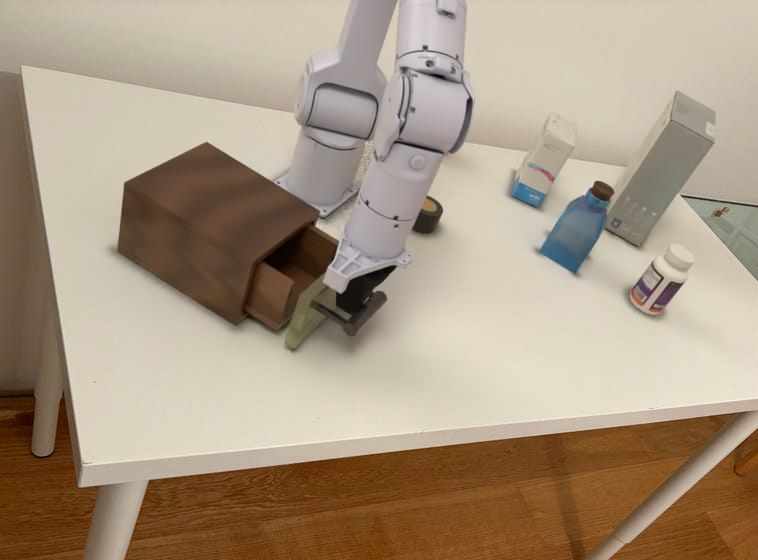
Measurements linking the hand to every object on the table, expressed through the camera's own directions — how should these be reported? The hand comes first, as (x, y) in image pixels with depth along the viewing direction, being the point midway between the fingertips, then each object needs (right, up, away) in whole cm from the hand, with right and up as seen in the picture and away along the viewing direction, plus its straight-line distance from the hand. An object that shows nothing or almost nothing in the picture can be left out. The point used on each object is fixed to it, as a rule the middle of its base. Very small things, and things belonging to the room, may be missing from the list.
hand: (346, 307), depth 74 cm
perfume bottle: (+28, +10, +33) cm, 44 cm away
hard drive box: (+41, +19, +49) cm, 67 cm away
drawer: (-7, +1, +3) cm, 7 cm away
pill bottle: (+40, +3, +32) cm, 51 cm away
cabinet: (-15, +5, +4) cm, 16 cm away
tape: (+7, +13, +24) cm, 28 cm away
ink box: (+24, +22, +43) cm, 54 cm away
